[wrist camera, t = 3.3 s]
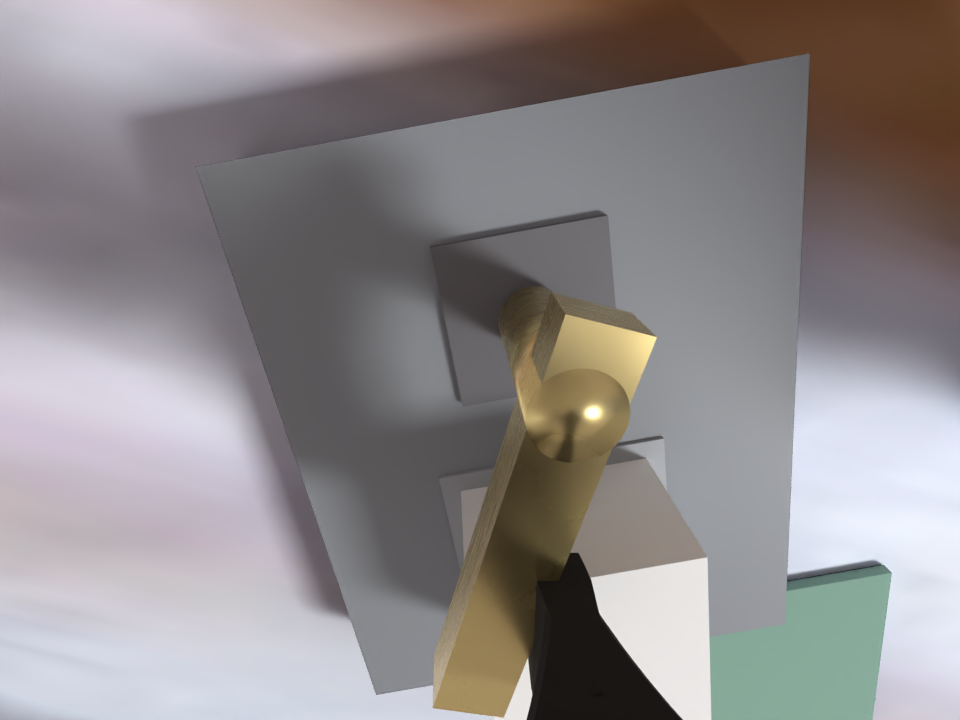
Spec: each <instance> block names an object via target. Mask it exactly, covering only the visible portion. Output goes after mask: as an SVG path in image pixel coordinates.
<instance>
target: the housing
mask: <svg viewBox="0 0 960 720" xmlns="http://www.w3.org/2000/svg"><path fill="white" fill-rule="evenodd" d="M809 64H810V53H809V54H803V55H798V56H793V57H787V58H782V59H776V60H771V61H766V62H760V63H755V64H749V65H744V66H739V67H733V68H728V69H722V70H717V71H712V72H706V73H701V74H695V75H690V76H685V77H679V78H674V79H668V80H663V81H658V82H652V83H647V84H641V85H636V86H631V87H625V88H620V89H614V90H609V91H604V92H598V93H593V94H587V95H582V96H576V97H571V98H566V99H560V100H555V101H549V102H544V103H539V104H533V105H528V106H522V107H517V108H512V109H506V110H501V111H495V112H490V113H485V114H479V115H474V116H468V117H463V118H458V119H452V120H447V121H441V122H436V123H431V124H425V125H420V126H414V127H409V128H404V129H398V130H393V131H387V132H382V133H377V134H371V135H366V136H360V137H355V138H350V139H344V140H339V141H333V142H328V143H323V144H317V145H312V146H306V147H301V148H296V149H290V150H285V151H279V152H274V153H268V154H263V155H258V156H252V157H247V158H241V159H236V160H231V161H225V162H220V163H214V164H209V165H204V166H198V167H196V170H197V173H198V176H199V179H200V182H201V185H202V187H203V190H204V193H205V196H206V199H207V202H208V205H209V208H210V211H211V214H212V217H213V220H214V222H215V225H216V228H217V231H218V234H219V237H220V240H221V243H222V246H223V249H224V252H225V255H226V258H227V260H228V263H229V266H230V269H231V272H232V275H233V278H234V281H235V284H236V287H237V290H238V293H239V296H240V298H241V301H242V304H243V307H244V310H245V313H246V316H247V319H248V322H249V325H250V328H251V331H252V333H253V336H254V339H255V342H256V345H257V348H258V351H259V354H260V357H261V360H262V363H263V366H264V369H265V371H266V374H267V377H268V380H269V383H270V386H271V389H272V392H273V395H274V398H275V401H276V404H277V406H278V409H279V412H280V415H281V418H282V421H283V424H284V427H285V430H286V433H287V436H288V439H289V442H290V444H291V447H292V450H293V453H294V456H295V459H296V462H297V465H298V468H299V471H300V474H301V477H302V479H303V482H304V485H305V488H306V491H307V494H308V497H309V500H310V503H311V506H312V509H313V512H314V515H315V517H316V520H317V523H318V526H319V529H320V532H321V535H322V538H323V541H324V544H325V547H326V550H327V552H328V555H329V558H330V561H331V564H332V567H333V570H334V573H335V576H336V579H337V582H338V585H339V588H340V590H341V593H342V596H343V599H344V602H345V605H346V608H347V611H348V614H349V617H350V620H351V623H352V625H353V628H354V631H355V634H356V637H357V640H358V643H359V646H360V649H361V652H362V655H363V658H364V661H365V663H366V666H367V669H368V672H369V675H370V678H371V681H372V684H373V687H374V690H375V693H376V695H378V694H384V693H390V692H396V691H401V690H407V689H413V688H419V687H424V686H430V685H433V680H434V653H435V650H436V647H437V643H438V640H439V637H440V634H441V631H442V628H443V625H444V622H445V619H446V616H447V612H448V609H449V606H450V603H451V600H452V597H453V594H454V591H455V588H456V585H457V582H458V578H459V575H460V572H461V569H462V566H463V563H464V551H463V527H462V503H461V491H464V490H470V489H475V488H481V487H487V486H488V485H489V482H490V479H491V476H492V473H493V470H494V467H495V464H496V461H497V458H498V454H499V451H500V448H501V445H502V442H503V439H504V436H505V433H506V430H507V427H508V424H509V420H510V417H511V414H512V411H513V408H514V405H515V402H516V399H517V393H516V389H515V385H514V382H513V378H512V374H511V371H510V367H509V363H508V360H507V356H506V352H505V349H504V345H503V341H502V337H501V334H500V330H499V325H498V319H499V313H500V310H501V307H502V306H503V304H504V302H505V301H506V300H507V299H508V297H510V296H511V295H512V294H513V293H515V292H516V291H518V290H520V289H523V288H526V287H534V286H535V287H543V288H546V289H549V290H551V291H553V292H554V293H556V294H560V295H564V296H568V297H572V298H576V299H580V300H584V301H588V302H592V303H595V304H599V305H603V306H607V307H611V308H615V309H619V310H623V311H627V312H631V313H633V314H634V315H635V316H636V317H637V318H638V319H639V320H640V321H641V322H642V323H643V324H644V325H645V326H646V327H647V328H648V329H649V330H650V331H651V332H652V333H653V334H654V335H655V336H656V337H657V339H656V341H655V343H654V346H653V348H652V351H651V353H650V356H649V358H648V361H647V363H646V366H645V368H644V371H643V373H642V376H641V378H640V381H639V383H638V386H637V388H636V391H635V393H634V396H633V398H632V401H631V403H630V419H629V424H628V427H627V429H626V431H625V433H624V435H623V437H622V438H621V440H620V441H619V442H618V443H617V444H616V445H615V446H614V447H613V448H612V450H611V453H610V455H609V458H608V460H607V463H606V465H611V464H617V463H622V462H628V461H633V460H639V459H645V458H647V460H648V462H649V463H650V465H651V467H652V468H653V470H654V471H655V473H656V475H657V476H658V478H659V480H660V481H661V483H662V484H663V486H664V488H665V489H666V491H667V493H668V494H669V496H670V497H671V499H672V501H673V502H674V504H675V505H676V507H677V509H678V510H679V512H680V514H681V515H682V517H683V518H684V520H685V522H686V523H687V525H688V527H689V528H690V530H691V531H692V533H693V535H694V536H695V538H696V540H697V541H698V543H699V544H700V546H701V548H702V549H703V551H704V552H705V554H706V556H707V558H708V599H709V637H713V636H719V635H725V634H731V633H736V632H742V631H748V630H754V629H759V628H765V627H771V626H777V625H783V624H785V613H786V590H787V567H788V544H789V522H790V499H791V476H792V453H793V430H794V407H795V384H796V361H797V338H798V316H799V293H800V270H801V247H802V224H803V201H804V178H805V155H806V132H807V110H808V87H809Z"/></svg>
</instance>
